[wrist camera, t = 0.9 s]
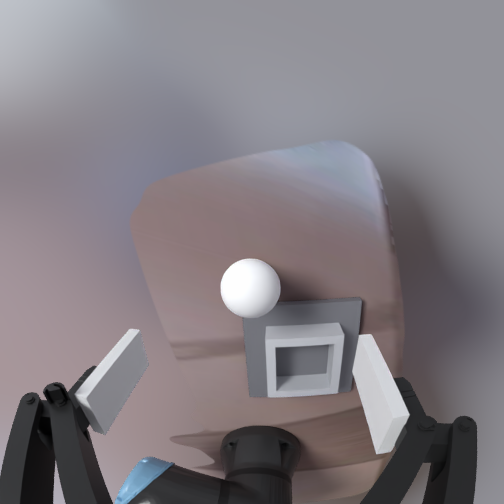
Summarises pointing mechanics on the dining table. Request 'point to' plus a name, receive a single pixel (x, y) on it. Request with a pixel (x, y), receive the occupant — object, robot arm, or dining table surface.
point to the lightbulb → (250, 288)
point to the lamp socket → (302, 348)
